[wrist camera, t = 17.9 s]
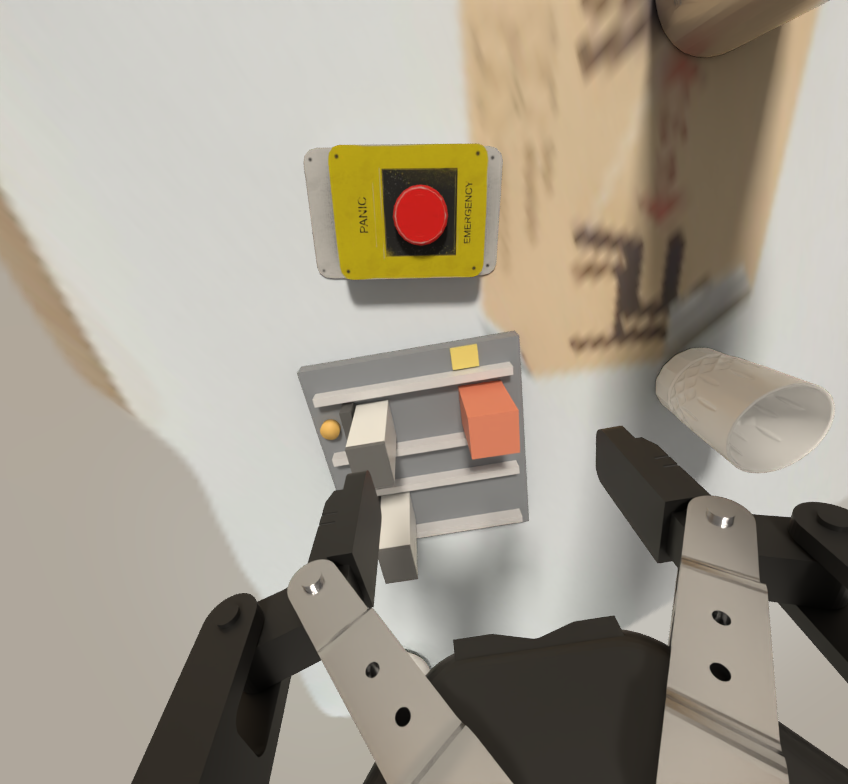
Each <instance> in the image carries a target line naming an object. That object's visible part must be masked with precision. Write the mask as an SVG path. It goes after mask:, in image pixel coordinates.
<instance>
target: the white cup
mask: <svg viewBox="0 0 848 784" xmlns="http://www.w3.org/2000/svg"><path fill="white" fill-rule="evenodd" d="M656 395H657V397H658V399H659V400H660V402H661V404H662V405H663V406H664V407H666V408H667V409H668V410H669V411H671V412H672V413H673V414H674V415H675V416H676V417H677V418H678V419H679V420H680V421H681V422H682V423H684V424H685V425H686V426H687V427H689V428H690V429H691V430H692V431H693V432H694V433H695V434H696V435H697V436H699V437H700V438H701V439H702V440H703V441H705V442H706V443H707V444H708V445H710V446H711V447H712V448H713V449H714V450H716V451H717V452H718V453H719V454H720V455H722V456H723V457H724V458H725V459H726V460H728V461H729V462H730V463H731V464H732V465H734V466H735V467H736V468H738V469H740V470H742V471H745V472H749V473H767V472H772V471H776V470H779V469H782V468H785V467H787V466H789V465H791V464H793V463H795V462H797V461H799V460H800V459H802V458H803V457H805V456H806V455H807V454H809V453H810V452H811V451H812V450H813V449H814V448H815V447H816V446H817V445H818V444H819V443H820V442H821V441H822V440H823V438H824V437H825V436H826V434H827V432H828V431H829V429H830V427H831V425H832V422H833V419H834V414H835V405H834V401H833V398H832V396H831V395H830V393H829V392H828V391H827V390H825V389H824V388H822V387H821V386H818V385H816V384H813V383H810V382H807V381H804V380H801V379H799V378H796V377H793V376H790V375H788V374H785V373H782V372H779V371H777V370H774V369H771V368H768V367H765V366H763V365H759V364H756V363H753V362H750V361H747V360H744V359H741V358H738V357H734V356H729V355H726V354H723V353H721V352H718V351H715V350H712V349H710V348H691V349H688V350H686V351H684V352H681V353H679V354H677V355H675V356H674V357H673V358H672V359H671V360H670V361H669V362H667V363H666V364H665V365H664V366H663V368H662V370H661V372H660V373H659V375H658V377H657V379H656Z"/></svg>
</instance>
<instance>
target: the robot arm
mask: <svg viewBox="0 0 848 784" xmlns="http://www.w3.org/2000/svg"><path fill="white" fill-rule="evenodd" d="M655 1H656V7H657V12H658V17H659V20H660V23H661V25H662V28H663V30H664V32H665V34H666V35H667V37H668V38H669V39H670V41H671V42H672V44H674V45H675V46H676V47H677V48H679V49H680V50H681V51H682V52H684V53H687V54H690V55H692V56H695V57H713V56H718V55H722V54H724V53H727V52H729V51H731V50H733V49H735V48H737V47H739V46H741V45H743V44H745V43H747V42H749V41H751V40H753V39H755V38H757V37H759V36H761V35H763V34H765V33H767V32H769V31H771V30H773V29H774V28H776V27H779V26H781V25H783V24H785V23H787V22H789V21H791V20H793V19H795V18H797V17H798V16H800V15H802V14H804V13H806V12H808V11H810V10H812V9H814V8H816V7H818V6H820V5H822V4H824V3H826V2H828V1H830V0H655ZM596 471H597V475H598V478H599V480H600V482H601V484H602V485H603V487H604V488H605V490H606V491H607V492H608V494H609V495H610V497H611V498H612V499H613V501H614V502H615V504H616V505H617V507H618V508H619V509H620V511H621V512H622V514H623V515H624V516H625V518H626V519H627V521H628V522H629V524H630V525H631V526H632V528H633V529H634V531H635V532H636V533H637V535H638V536H639V538H640V539H641V541H642V542H643V543H644V545H645V546H646V548H647V549H648V550H649V552H650V553H651V555H652V556H653V558H654V559H655V560H656V562H657V563H663V562H669V561H673V562H674V563H675V565H676V566H677V567H678V571H677V577H676V585H675V593H674V601H673V610H672V618H671V625H670V633H669V640H668V645H666V644H664V643H662V642H660V641H658V640H656V639H654V638H651V637H649V636H646V635H643V634H640V633H637V632H632V631H628V630H622V629H621V628H620V626H619V624H618V622H617V620H616V618H615V616H608V617H601V618H595V619H588V620H582V621H575V622H572V623H570V624H568V625H566V626H564V627H561V628H559V629H557V630H555V631H553V632H551V633H549V634H546V635H544V636H542V637H540V638H537V639H530V638H521V637H513V636H504V635H496V634H489V635H482V636H476V637H469V638H463V639H456V640H453V643H454V653H455V654H453V655H451V656H449V657H447V658H445V659H444V660H442V661H441V662H439V663H438V664H437V665H436V666H434V667H433V668H432V669H431V670H430V671H429V672H428V673H427V674H426V675H424V673H423V672H422V671H421V670H420V668H419V667H418V666H417V664H416V663H415V662H414V660H413V659H412V658H411V657H410V655H409V654H408V653H407V651H406V650H405V649H404V648H403V646H402V645H401V644H400V642H399V641H398V640H397V638H396V637H395V636H394V635H393V633H392V632H391V631H390V629H389V628H388V627H387V625H386V624H385V623H384V622H383V620H382V619H381V618H380V616H379V615H378V614H377V613H376V611H375V610H374V609H373V608H372V607H374V597H375V586H376V575H377V565H378V554H379V543H380V533H381V522H382V514H381V507H380V502H379V499H378V496H377V493H376V490H375V487H374V484H373V480H372V477H371V474H370V472H369V471H368V470H366V471H361V472H355V473H349V474H347V475H346V479H345V483H344V487H343V489H342V490H336V491H334V492H333V493H332V495H331V496H330V497H329V498H328V500H327V501H326V503H325V506H324V510H323V513H322V516H321V520H320V523H319V525H320V526H319V527H318V530H317V533H316V537H315V540H314V544H313V547H312V550H311V554H310V557H309V561H308V564H306V565H304V566H303V567H302V568H300V569H299V570H298V571H297V572H296V573H295V574H294V576H293V577H292V579H291V580H290V582H289V585H288V587H287V588H286V589H284V590H282V591H280V592H278V593H276V594H274V595H271V596H269V597H267V598H265V599H263V600H261V601H258V602H257V601H256V599H255V598H254V597H253V596H252V595H251V594H247V593H242V594H236V595H234V596H231V597H229V598H227V599H225V600H224V601H223V602H221V603H220V604H219V605H217V606H216V608H214V609H213V610H212V611H211V613H210V614H209V615H208V617H207V618H206V620H205V622H204V624H203V626H202V628H201V630H200V632H199V635H198V637H197V639H196V641H195V644H194V646H193V648H192V650H191V652H190V654H189V657H188V659H187V661H186V663H185V666H184V668H183V670H182V672H181V675H180V677H179V679H178V681H177V683H176V686H175V688H174V690H173V692H172V695H171V697H170V699H169V701H168V703H167V705H166V708H165V710H164V712H163V714H162V717H161V719H160V721H159V723H158V725H157V728H156V730H155V732H154V734H153V736H152V739H151V741H150V743H149V745H148V748H147V750H146V752H145V755H144V756H143V759H142V761H141V763H140V765H139V767H138V770H137V772H136V774H135V776H134V779H133V781H132V783H131V784H269V781H270V775H271V771H272V766H273V761H274V756H275V752H276V747H277V742H278V737H279V732H280V728H281V723H282V718H283V713H284V708H285V703H286V698H287V694H288V689H289V684H290V679H291V676H292V675H294V674H296V673H298V672H300V671H302V670H303V669H305V668H307V667H309V666H311V665H313V664H315V663H317V662H319V661H321V660H322V662H323V664H324V666H325V668H326V670H327V672H328V673H329V675H330V677H331V679H332V681H333V683H334V685H335V687H336V689H337V690H338V692H339V694H340V696H341V698H342V700H343V702H344V704H345V705H346V707H347V709H348V711H349V713H350V715H351V717H352V719H353V720H354V722H355V724H356V726H357V728H358V730H359V732H360V734H361V736H362V737H363V739H364V741H365V743H366V745H367V747H368V749H369V751H370V753H371V754H372V756H373V758H374V760H375V763H374V765H373V767H372V768H371V770H370V772H369V774H368V775H367V777H366V779H365V781H364V783H363V784H848V769H847V768H845V767H844V766H843V765H841V764H840V763H838V762H837V761H835V760H834V759H833V758H831V757H830V756H828V755H827V754H825V753H824V752H822V751H821V750H819V749H818V748H817V747H815V746H814V745H812V744H811V743H809V742H808V741H806V740H805V739H804V738H802V737H800V736H799V735H798V734H796V733H795V732H793V731H792V730H790V729H789V728H788V727H786V726H785V725H783V724H782V723H780V722H779V721H778V712H777V700H776V689H775V676H774V663H773V652H772V639H771V627H770V615H769V602H768V601H771V602H778V603H779V605H780V606H781V607H782V608H783V609H784V610H785V611H786V612H787V614H788V615H789V616H790V617H791V618H792V620H794V622H795V623H796V624H797V625H798V626H799V628H800V629H801V630H802V631H803V632H804V633H805V634H806V636H808V638H809V639H810V640H811V641H812V643H813V644H814V645H815V646H816V647H817V648H818V649H819V651H820V652H821V653H822V654H823V655H824V656H825V658H827V660H828V661H829V662H830V663H831V664H832V666H834V668H835V669H836V670H837V671H838V672H839V674H840V675H841V676H842V677H843V678H844V679H845V681H846V682H847V683H848V510H847V509H845V508H842V507H839V506H835V505H832V504H827V503H821V502H806V503H801V504H799V505H797V506H796V507H795V508H794V509H793V512H792V516H791V517H779V516H766V515H755V514H751V513H750V512H749V511H748V510H747V509H746V508H745V507H743V506H742V505H740V504H738V503H736V502H734V501H732V500H729V499H727V498H723V497H718V496H711V495H710V494H709V493H708V492H707V491H706V490H705V489H704V488H703V487H701V486H700V485H699V484H698V483H697V482H696V481H695V480H694V479H693V478H692V477H691V476H690V475H689V474H688V473H687V472H686V471H684V470H683V469H682V468H681V467H680V466H678V465H677V463H676V462H675V461H674V460H673V459H672V458H671V457H668V455H667V454H666V453H665V452H664V451H663V450H662V449H661V448H660V447H659V446H658V445H656V444H654V443H652V442H650V441H648V440H646V439H644V438H642V437H641V438H634V437H633V436H632V435H631V434H630V433H629V432H628V431H627V430H626V429H625V428H624V427H623V426H616V427H611V428H605V429H600V430H598V431H597V434H596Z"/></svg>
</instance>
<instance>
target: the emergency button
mask: <svg viewBox="0 0 848 784" xmlns="http://www.w3.org/2000/svg"><path fill="white" fill-rule="evenodd" d="M502 165H503V160H502V155H501V153H500V152H499V151H498V149H497V148H494V147H490V146H483V145H480V144H392V145H337V146H335V147H332V148H315V149H311V150H309V151H308V152H307V153H306V155H305V156H304V170H305V178H306V186H307V193H308V201H309V209H310V216H311V224H312V231H313V239H314V247H315V254H316V262H317V268H318V270H319V272H320V273H321V274H322V275H323V276H324V277H327V278H347V279H351V280H359V279H404V278H448V277H474V276H477V275H485V274H489V273H490V272H491V271H492V270H494V268H495V265H496V258H497V242H498V227H499V211H500V196H501V180H502Z"/></svg>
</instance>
